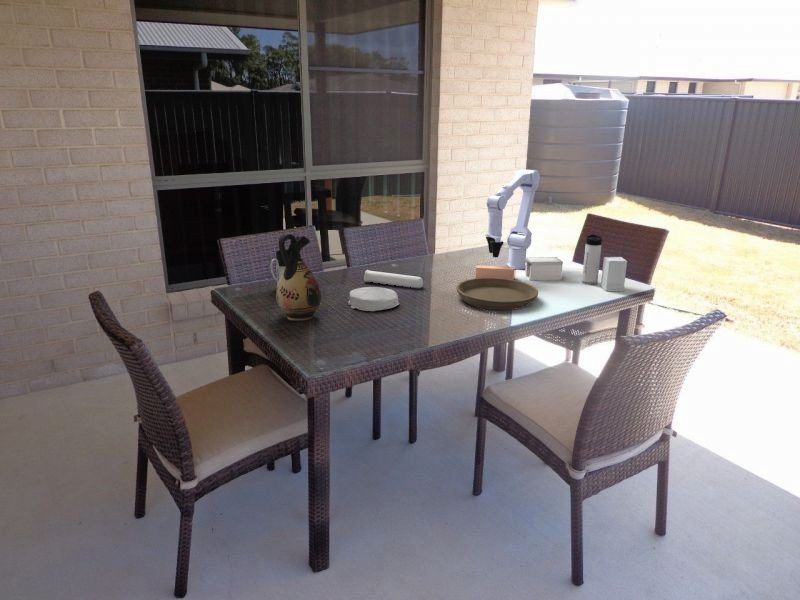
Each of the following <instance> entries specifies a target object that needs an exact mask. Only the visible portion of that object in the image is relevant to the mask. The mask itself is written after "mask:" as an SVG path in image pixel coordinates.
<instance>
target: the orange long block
mask: <svg viewBox="0 0 800 600" xmlns="http://www.w3.org/2000/svg"><path fill="white" fill-rule="evenodd" d="M514 275H515V269H514V267H509V266H496V265H477V264H476V267H475V278H504V279H511V280H515V279H514V277H515V276H514Z"/></svg>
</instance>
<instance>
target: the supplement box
mask: <svg viewBox="0 0 800 600" xmlns="http://www.w3.org/2000/svg"><path fill="white" fill-rule="evenodd" d="M627 266H628V261H627V260H626V259H625V258H623V257H622V256H603V261H602V271H601V279H600V287H601V288H602V289H603V290H604V291H606V292H624V291H625V282H626V276H627V275H626V273H627Z"/></svg>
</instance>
